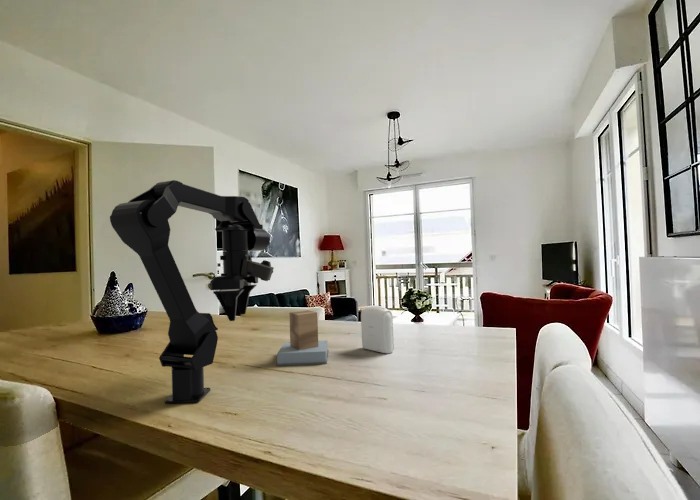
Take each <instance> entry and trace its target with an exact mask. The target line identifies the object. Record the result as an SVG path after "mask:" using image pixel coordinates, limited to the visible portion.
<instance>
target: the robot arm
mask: <svg viewBox="0 0 700 500" xmlns="http://www.w3.org/2000/svg"><path fill="white" fill-rule="evenodd" d="M178 207H181V208H187V209H190V210H194V211H198V212H202V213H208V214H210V215H211V216H212V218H213V219H215V220H217V221H219V222H220V223H219V224H218V225H217V226H216V227H215V228H214V229H215V231H216V232H221V239H222V255H220V256H219V257H220V258H219V259H220V261H222V265H223V267H222V268H223V273H220V275H219V276H214V277H213V278H212V279H211V280H210V281H209V284H210V285H209V286H210V288H209V289H210V291H213V292H212V294H214V295H215V297H216V298H217V300H218V302H219V304H220V305H221V307H222V309H223V311H224V312H225V315H226V316H227V318H228V320H229V321H230V322H234V321H235V320H236V315H237V310H238V311H239V314H240V315H246V313H247V307H248V304H249V298H250V294H251V292H252V291H253V289H255V288H256V287H257V284H258V283H259V279H260V280H261V281H265V282H268V281H270V280H271V278H272V275H273V273H274V267H273V266H272V265H271V261H268V260H266V259H265V260H263V261H261V262H257V261H253V258H252V255H251V254H249V251H250V252H252V251H253V252H255V251H256V252H257V251H258V252H259V251H261V252H262V251H265V250H266V249H267V248H268V247H269V246H270V242H271V237H270V235H269V233H268V231H266V229H264V228H263V227H264V226H263V224H261V223H260V222H259V219H258V217H257V215H256V213H255V211H254V209H253V206H252V205H251V203H250V200H249V199H248V198H247V197H245V196H241V195H239V196H238V195H237V196H236V195H231V196H230V195H219V194H216V193H213V192H209V191H206V190H204V189H200V188H197V187H194V186H191V185H187V184H184V183H183V182H181V181H178V180H174V179H173V180H167V181H160V182H156V183H155V184H154V185H153V186H151V188H149V189H147V190H146V191H144V192H142V193H140V194H139V195H136V196H135V197H133V198H131V199H130V200H129V201H126V202H123V203H118V205H116V206H114V208H113V209H112V212H111V214H110V216H109V221H110V222H109V223H110V224H111V227H112V229H113V230H114V231H115V233H116V234H117V236H118V237H119V238H120V240H121V241H122V242H123V244H125V245H126V246H127V247H129V249H131V250H132V251H134V252H135V253H136V254H137V255H138V256H139V258H140V260H141V263H142V264H143V266H144V268H145V271H146V273H147V275H148V277H149V279H150V281H151V283H152V286H153V288H154V290H155V292H156V294H157V296H158V298H159V300H160V303H161V304H162V306H163V308H164V311H165V312H166V315H167V317H168V320H169V325H168V331H167V335H168V338H169V342H168V344H166V347H165V348H164V349H163V350H162V352H161V354H160V356H159V358H158V359H159V362H160V364H161V367H165V368H166V367H167V368H168V367H169V368H171V395H169V396H168V397H167V398H166V399H164V404H182V403H185V404H187V403H198V402H201V400H202V399H204V397H205V396H206V395H208V393H210V392H211V387H205V377H204V374H205V373H204V371H205V369H204V368H205V367H207V366H210V365H212V364H213V363H214V360H215V355H216V349H217V345H218V340H219V336H218V333H217V331H218V329H219V328H218V327H217V326H216V325H215V323H214V322H215V321H214V319H213V316H212V315H211V313H210V312H199V311H198V309H197V308H196V306H195V303H194V301H193V299H192V297H191V295H190V293H189V290H188V287H187V286H186V283H185V281H184V279H183V276H182V274H181V271H180V270H179V268H178V265H177V262H176V261H175V258H174V255H173V254H172V251H171V249H170V246H169V241H170V234H171V227H170V222H169V220H170V218H171V217H172V216H173V215H174V214H176V212H177V210H178ZM237 308H238V309H237ZM185 355H186V356H185ZM187 355H188V356H187Z"/></svg>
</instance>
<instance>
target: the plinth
mask: <svg viewBox="0 0 700 500" xmlns="http://www.w3.org/2000/svg"><path fill="white" fill-rule="evenodd" d="M328 345H329V343H328V340H318V347H314V348H309V349H304V350H298V349H295V348H293V347H291V346H290V341H284V342H283V344H282V346H281V347H280V349H279V350H278V351H277V353H276V356H277V359H276V360H277V363H276V366H277V367H278V366H280V367H281V366H283V367H284V366H305V365H307V366H308V365H326V364H328V358H329V348H328V347H329V346H328Z"/></svg>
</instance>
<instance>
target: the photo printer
mask: <svg viewBox="0 0 700 500" xmlns="http://www.w3.org/2000/svg"><path fill="white" fill-rule="evenodd" d="M393 319H394V318H393V313H392V311H391V310H390V309H388V308H387V307H384V306H380V305H369V306H366V307H364V308H362V310H361V313H360V324H361V325H360V327H361V328H360V329H361V346H362V348H363V349H365V350H368V351H372V352H379V353H383V354H391V353H393V352H394V350H395V343H394V339H395V338H394V322H393Z"/></svg>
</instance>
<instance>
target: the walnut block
mask: <svg viewBox="0 0 700 500" xmlns="http://www.w3.org/2000/svg"><path fill="white" fill-rule="evenodd" d="M288 314H289V342H290V346H291V347H293V348H295V349H298V350H304V349H309V348H314V347H318V341H319V329H318V328H319V327H318V325H319V324H318V323H319V321H318V312H316V311H313V310H299V311H290V312H289V313H288Z"/></svg>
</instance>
